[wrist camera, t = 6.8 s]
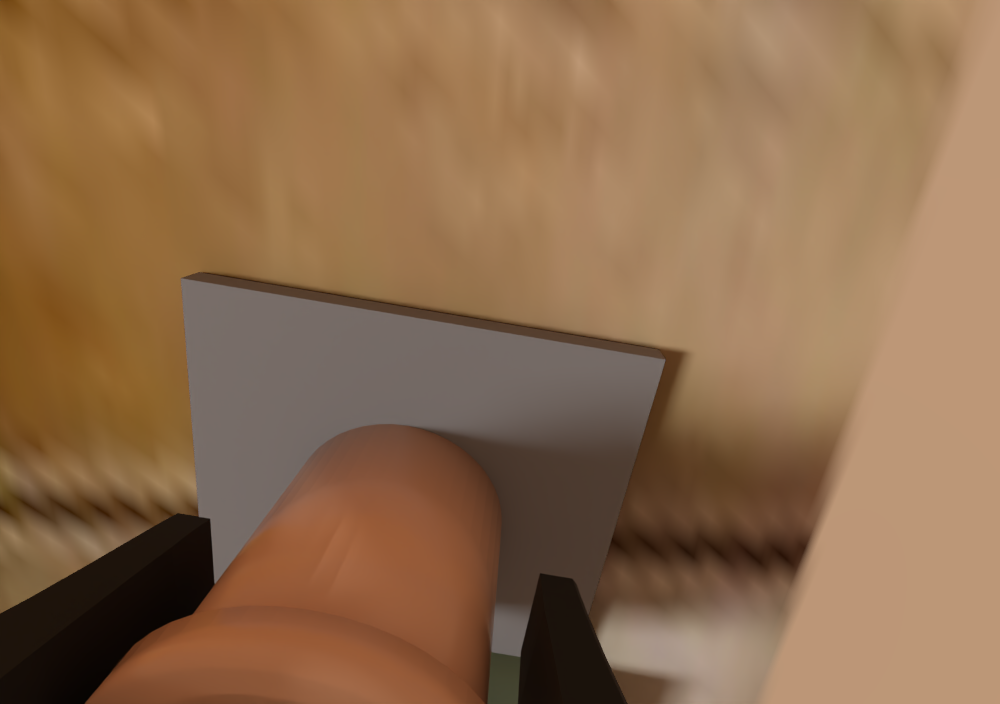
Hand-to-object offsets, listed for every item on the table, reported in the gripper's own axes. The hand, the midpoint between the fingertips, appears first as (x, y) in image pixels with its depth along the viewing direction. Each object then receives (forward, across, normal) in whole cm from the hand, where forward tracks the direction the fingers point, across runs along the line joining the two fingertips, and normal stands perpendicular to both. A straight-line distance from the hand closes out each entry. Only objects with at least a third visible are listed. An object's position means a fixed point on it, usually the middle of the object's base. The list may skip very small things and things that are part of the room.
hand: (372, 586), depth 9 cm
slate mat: (+3, 0, 0) cm, 3 cm away
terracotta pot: (+3, 0, 0) cm, 3 cm away
